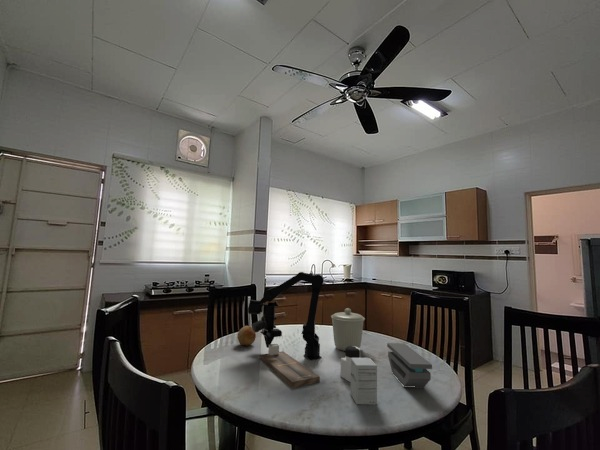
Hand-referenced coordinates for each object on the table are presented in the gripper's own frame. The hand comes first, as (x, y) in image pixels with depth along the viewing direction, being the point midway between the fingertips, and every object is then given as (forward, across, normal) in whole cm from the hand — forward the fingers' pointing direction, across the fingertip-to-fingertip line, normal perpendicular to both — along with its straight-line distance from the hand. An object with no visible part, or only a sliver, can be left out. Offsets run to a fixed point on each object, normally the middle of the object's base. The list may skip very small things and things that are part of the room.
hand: (267, 347), depth 139 cm
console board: (+3, +21, 0) cm, 21 cm away
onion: (+3, -17, -5) cm, 18 cm away
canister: (+3, +10, +42) cm, 43 cm away
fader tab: (+1, +7, 0) cm, 7 cm away
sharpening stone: (+3, +52, +39) cm, 64 cm away
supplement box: (+3, +55, +12) cm, 56 cm away
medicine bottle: (+3, +40, +20) cm, 45 cm away
